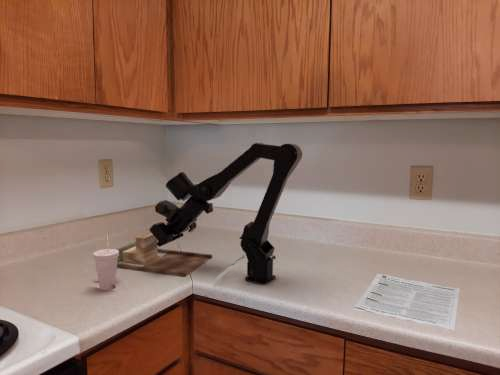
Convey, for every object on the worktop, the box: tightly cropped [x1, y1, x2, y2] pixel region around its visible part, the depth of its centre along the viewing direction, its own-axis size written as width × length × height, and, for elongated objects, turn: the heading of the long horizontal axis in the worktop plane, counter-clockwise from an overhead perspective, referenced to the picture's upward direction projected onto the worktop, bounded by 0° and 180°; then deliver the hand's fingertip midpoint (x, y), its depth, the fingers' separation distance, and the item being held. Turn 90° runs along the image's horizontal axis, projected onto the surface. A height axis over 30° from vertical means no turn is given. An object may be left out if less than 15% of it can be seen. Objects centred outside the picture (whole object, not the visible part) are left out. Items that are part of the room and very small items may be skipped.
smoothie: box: [92, 235, 119, 292], centre depth 95 cm, size 6×6×14 cm
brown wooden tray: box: [116, 240, 213, 278], centre depth 112 cm, size 26×18×6 cm
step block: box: [122, 231, 159, 264], centre depth 114 cm, size 8×7×8 cm
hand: (158, 245), depth 112 cm, fingers closed
